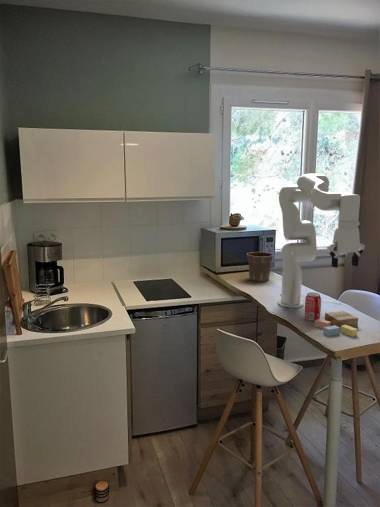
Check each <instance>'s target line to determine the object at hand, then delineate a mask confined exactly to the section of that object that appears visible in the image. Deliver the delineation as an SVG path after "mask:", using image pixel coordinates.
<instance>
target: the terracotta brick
mask: <svg viewBox="0 0 380 507" xmlns="http://www.w3.org/2000/svg"><path fill="white" fill-rule="evenodd" d="M328 326H332V325H331V322H330V321H326V320H325V319H321V318H320V319H316V320H315V321H314V327H316V328H320V329H323V330H324V327H328Z"/></svg>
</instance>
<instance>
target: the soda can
mask: <svg viewBox="0 0 380 507" xmlns="http://www.w3.org/2000/svg"><path fill="white" fill-rule="evenodd" d="M304 300H305V301H304V314H303V315H304V318H305V320H306V321H309V322H315V320H316V319H321V311H322V310H321V309H322V297H321V293H318V292H307V293H306V296H305V299H304Z"/></svg>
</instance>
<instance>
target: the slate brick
mask: <svg viewBox="0 0 380 507" xmlns="http://www.w3.org/2000/svg"><path fill="white" fill-rule="evenodd" d="M323 334H324V335H325V336H328V337H329V336H330V337H332V336H337V335H340V334H341V329H340V327H338V326H336V325H334V326H332V325H331V326H328V327H324V329H323Z"/></svg>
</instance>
